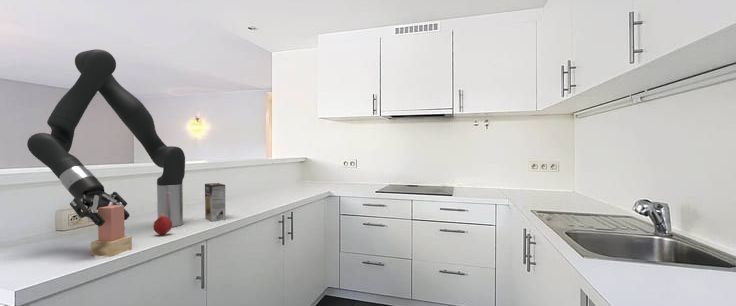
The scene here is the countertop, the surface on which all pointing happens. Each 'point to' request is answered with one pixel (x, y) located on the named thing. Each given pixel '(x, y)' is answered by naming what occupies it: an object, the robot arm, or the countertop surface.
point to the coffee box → (215, 201)
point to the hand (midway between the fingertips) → (115, 221)
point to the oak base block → (111, 246)
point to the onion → (162, 225)
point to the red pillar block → (111, 223)
